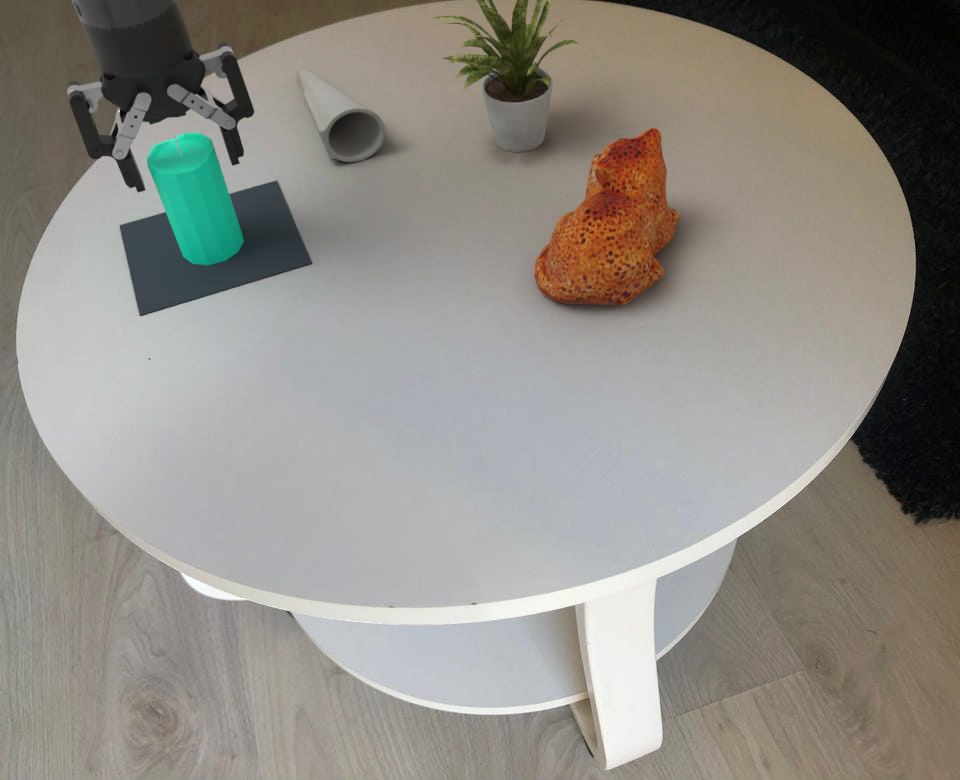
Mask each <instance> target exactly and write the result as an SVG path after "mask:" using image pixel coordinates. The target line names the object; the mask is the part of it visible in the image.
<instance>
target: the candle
mask: <svg viewBox="0 0 960 780" xmlns="http://www.w3.org/2000/svg"><path fill="white" fill-rule="evenodd" d="M146 164H147V167H148V170H149V172H150V175H151V178H152V180H153V183H154V185H155V189H156V190H157V194H158V195H159V199H160V201H161V203H162V206H163V208H164V211H165V212H166V214H167V216H168V219H169V222H170V224H171V227H172V229H173V232H174V234H175V237H176V240H177V242H178V245H179V247H180V250H181V252H182V255H183V257H184V258H185V259H187V260H188V261H190V262H191V263H193V264H200V265H212V264H215V263H219V262H223V261H226V260H227V259H229V258H230V257H232V256H233V255H235V254H236V253H238V251H239V250H240V248H241V246H242V244H243V242H244V240H243V236H242V232H241V229H240V226H239V223H238V220H237V216H236V213H235V210H234V207H233V204H232V201H231V198H230V195H229V194H230V192H229V189H228V186H227V183H226V179H225V176H224V174H223V171H222V167H221V164H220V161H219V158H218V154H217V152H216V148H215V146H214V143H213V139H211V138H210V137H209V136H207V135H205V134H204V133H202V132H183V133H181V134H178V135H177V136H173V137H172V138H170V139H167V140H165V141H162V142H159V143H155V144H153V145H152V147H151V148H150V151H149V153H148V155H147V157H146Z"/></svg>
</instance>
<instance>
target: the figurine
mask: <svg viewBox="0 0 960 780" xmlns="http://www.w3.org/2000/svg"><path fill="white" fill-rule="evenodd" d="M590 163H591V164H590V169H589V173H588V176H587V179H586V187H585V196H584V200H583V201H582V202H581V203H580V204H579V205H578V206H577V208H576V209H574V210H572V211H569V212H566V213H565V214H564V215H562V216H561V217H560V218H559V219H558V220H557V222H556V225H555V227H554V229H553V231H552V233H551V235H550V239H549V242H548V243H547V244H546V245H545V246H544V247H543V248H542V249H541V251H540V252H539V254H538V256H536V258H535V262H534V270H533V274H534V275H533V276H534V279H535V282H536V285H537V288H538V290H539V291H540V292H541V293H542V294H543V295H544V296H546V297H547V298H548V299H550V300H551V301H553V302H557V303H560V304H564V305H589V306H590V305H591V306H592V305H594V306H595V305H596V306H597V305H599V306H600V305H603V306H605V305H606V306H623V307H624V306H625V305H627V304H628V303H630V302H632V301H633V300H635V299H636V298H637V297H639V296H640V295H641V294H643V293H644V292H646V291H647V290H649V289H650V288H652V287H653V286H655V285H656V283H658V281H659V280H660V279H661V278H662V277H663V276H664V275H665V274H666V273H665V270H664V268H663V266H662V265H661V263H660V262H659V260H658V259H657V258H655V256H656V255H657V254H658V253H659V252H660V251H661V250H662V249H664V248H665V247H666V246H667V244H669V242H670V241H671V240H672V239H673V238H674V236H675V234H676V233H675V232H676V229H677V225H678V223H679V221H680V219H681V214H680V213H679V212H678V211H677V210H676V209H674V208H671V207H670V206H669V204H668V200H667V175H668V169H667V165H666V161H665V159H664V155H663V147H662V135H661V131H660V130H659V129H658V128H654V127H651V128H649V129H646V130H645V131H644V132H642V133H640V134H638V135H637V136H636V137H634V138H631V137H630V138H629V137H628V138H627V137H620V138H618V139H617V140H615V141H613V142H611V143H609V144H608V145H607V146H605V147H604V149H603V150H602V152H601V153H597V154H595V155H594V156H593V158H592V160H591V162H590Z"/></svg>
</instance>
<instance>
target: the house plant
mask: <svg viewBox="0 0 960 780" xmlns="http://www.w3.org/2000/svg"><path fill="white" fill-rule="evenodd" d="M486 1H487V2H486ZM476 2H477V3H478V5H479V8H480V10H481V12H482V13H483V15H484V17H485V19H486V20H487V22H488V23H489V25H490V27H491V29H492V30H493V32H494V34H495V36H496V37H497V39H495V38H494V37H493V36H492V35H491V34H490V33H489V32H488V31H487V30H486V29H484V28H483V27H482V26H481V25H479V24H478V23H477V22H475V21H474V20H472V19H469V18H467V17H465V16H462V15H439V16H435V17H433V19H438V20H439V19H442V20H455V21H461V22H448V23H447V25H461V26H465V27H467V29H469V30H470V31H471V34H473V35H474V37H473V38H471V39H468V40H466V41H464V42H463V43H462V44H461V46H460V48H468V47H472V48H480V49H482V51H483V52H484V53H485V54H475V53H474V54H473V53H465V54H455V55H450V56H445V57H442V58H441V60H445V61H446V60H447V61H448V62H447V63H450V64H451V63H453V64H454V63H459V64H460V63H461V64H466V65H465V66H464V67H462V68H461V69H460V71H459V72H458V74H457V75H456V77H455V79H454V80H457V78H459V77H462V76H466V75H467V77H466V80H465V82H464V85H463V89H462V91H464V90H465V89H466V88H467V87H469V86H471V85H473V84H475V83H477V82H478V81H480V80H482V79H483V80H482V81H481V85H480V86H481V87H480V89H481V93H482V96H483V100H484V104H485V107H486V112H487V116H488V120H489V123H490V127H491V131H492V135H493V139H494V142H495V144H496V145H497V146H498V147H499V148H500V149H502V150H504V151H507V152H510V153H511V152H512V153H525V152H528V151H532V150H534V149H536V148H539V146H541V145H542V144H543V142H544V141H545V136H546V133H547V132H546V131H547V125H548V118H549V110H550V106H551V105H550V104H551V99H552V98H551V97H552V92H553V86H554V85H553V84H554V83H553V78H552V77H551V75H550V74H549V73H548V72H547V71H546V70H544V69H542V68H541V67H540V64H541V62H542V61H543V60H544V59H545V57H546V56H548V54H550V53H552V52H553V51H554V50H556V49H559V48H561V47H564V46H567V45H571V44H576V45H579V46H581V48H582V45H581V44H580V43H579V42H578V41H576V40H574V39H564V40H561V41H559V42H557V43H556V44H554V45H553V46H551V47H549V48H548V49H547V50H546V51H545V52H544V53H543V54H542V55H541V57H540V58H539V60H538V61H537V62H536V61H535V59H536V58H537V55H538V53H539V51H540V50H541V48H542V46H543V44H544V43H545V41H546V40H547V38H548V37H551V38H552V32H554V30H556V28H557V27H558V26H559V24H560V23H561V22H562V21H563V20H565V18H567V17H568V16H569V15H570V14H571V13H572V11H571V12H570V13H569V14H567V15H566V16H564V17H563V18H561V19H559V21H558V22H557V23H556V25H554V26H553V28H551V30H550V31H548V33H546V34H545V35H543V36H540V34H541V31H542V28H543V26H544V24H545V21H546V20H547V16H548V14H549V12H550V7H551V3H552V0H546V1H545V2H544V5H543V0H536V3H535V6H534V10H533V13H532V16H531V20H530V23H527V13H528V12H527V11H528V4H529V0H516V2H515V5H514V8H513V11H512V16H511V28H510V27H509V24H508V23H507V22H506V20H505V18H503V17H502V15H501V14H499V12H498V10H497V7H496V5H495V3H494V1H493V0H476ZM487 3H488V4H487ZM488 5H489V6H490V7H489V6H488ZM542 6H543V7H542ZM541 9H542V10H541ZM540 12H541V13H540ZM538 17H539V18H538ZM537 21H538V22H537ZM473 26H474V27H473ZM478 29H479V30H480V31H481V32H482V33H484V34H485V35H486V36H483V35H482V33H481V32H480V31H479V30H478ZM487 42H489V43H490V44H491V45H490V44H488V43H487ZM493 47H494V48H495V49H494V48H493Z"/></svg>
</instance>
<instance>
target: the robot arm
mask: <svg viewBox="0 0 960 780" xmlns="http://www.w3.org/2000/svg"><path fill="white" fill-rule="evenodd" d="M71 4H72V8H73V10H74V12H75V14H76V15H77V16H78V19H79V21H80V23H81V24H80V25H81V26H82V29H83V31H84V34H85V36H86V39H87V42H88V44H89V46H90V49H91V51H92V54H93V56H94V59H95V61H96V63H97V66H98V69H99V72H100V78H99V81H94V82H90V83H85V84H81V82H79V81H77V80H70V81H69V82H68V83H67V84H66V93H67V98H68V102H69V105H70V109H71V111H72V114H73V116H74V120H75V122H76V125H77V128H78V130H79V133H80V136H81V139H82V142H83V144H84V147H85V149H86V152H87V155H88V157H89V158H91V159H93V160H99V159H101V158H102V157H109V158H112V159H114V160H115V162H116V164H117V167H118V170H119V172H120V175H121V177H122V179H123V181H124V183H125V185H126V186H127V187H128V188H129V189H133V188H135V189H136V191H137V193H142V192H145V191H146V187H145V182H144V179H143V176H142V174H141V170H140V169H139V165H138V164H137V161H136V159H135V156H134V153H133V151H132V148H131V146H132V143H133V141H134V140H135V139H136V138H137V136H138V133H139V131H140V128H141V126H142V123H148V124H149V125H155V124H158V123H161V122H162V121H164V120H166V119H169V118H171V119H172V118H180V117H184V116H187V112H189V111H190V110H191V111H193V112H195V113H196V114H198V115H199V116H201V117H203V118H204V119H206V120H210V121H212V122H213V123H215V124H216V125H218V127H219V130H220V133H221V137H222V140H223V143H224V146H225V150H226V153H227V155H228V159H229V161H230V164H231V166H232V167H233V166H237V165H240V160H239V159H240V158H242V157H244V154H245V150H244V145H243V143H242V140H241V136H240V132H239V128H238V124H239V122H240V121H241V120H242V119H249V118H251V117H253V116H254V114H255V108H254V105H253V103H252V99H251V97H250V94H249V91H248V88H247V85H246V83H245V80H244V76H243V74H242V72H241V68H240V65H239V62H238V59H237V58H236V55H235V52H234V51H233V48H232V46H231V44H230V43H229V42H227V41H221V42H219V43H218V44H217V46H216V50H214V51H210V52H207V53H204V54H201V55H200V54H199V53H198V52H197V51H196V50H195V49H194V48H193V44H192V41H191V38H190V35H189V31H188V29H187V25H186V22H185V18H184V16H183V12H182V10H181V6H180V3H179V0H71ZM207 71H212V72H214V74H215V76H216V77H217V78H219V79H226V80H227V83H228V85H229V87H230V90H231V93H232V96H233V99H231V100H230V101H228V102H224V100H221V99H220V98H219V97H217V96H216V95H214V94H213V93H212V91H210V89H208V88H207V87H205V86H204V85H202V84H203V82H204V79H205V76H206V72H207ZM102 98H104V99H105V100H107V101H108V102H110V103H111V104H112V105H114V106H116V107H117V109H116V111H115V117H114V122H113V125H112V127H111V130H110V132H109V134H100V133H99V131H98V128H97V125H96V122H95V119H94V117H93V114H94V113H95V112H97V111H98V110H99V101H100V99H102Z"/></svg>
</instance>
